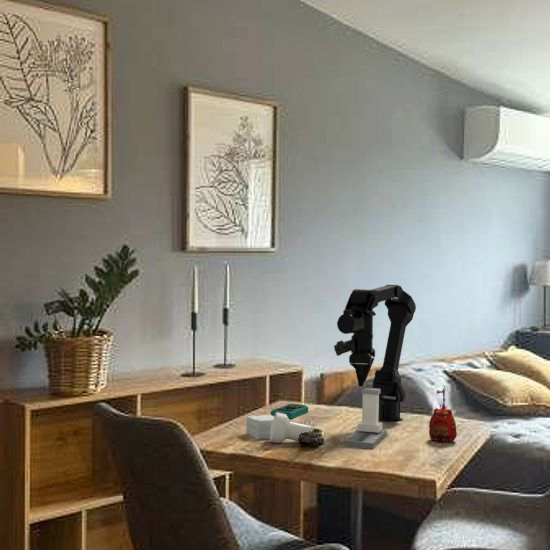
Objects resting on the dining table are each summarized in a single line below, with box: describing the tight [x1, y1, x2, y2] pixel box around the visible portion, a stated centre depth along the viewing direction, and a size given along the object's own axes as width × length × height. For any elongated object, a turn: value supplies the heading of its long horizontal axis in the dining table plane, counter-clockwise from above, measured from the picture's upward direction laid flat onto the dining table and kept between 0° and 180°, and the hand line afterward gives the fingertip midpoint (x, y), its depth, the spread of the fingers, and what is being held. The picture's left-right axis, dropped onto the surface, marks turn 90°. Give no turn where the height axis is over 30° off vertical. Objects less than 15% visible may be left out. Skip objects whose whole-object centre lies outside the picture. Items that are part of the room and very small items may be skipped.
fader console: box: [343, 428, 388, 450], centre depth 220 cm, size 18×8×2 cm, turn 161°
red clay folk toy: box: [428, 385, 458, 443], centre depth 222 cm, size 8×7×15 cm
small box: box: [245, 414, 274, 440], centre depth 225 cm, size 8×8×5 cm
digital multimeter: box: [270, 403, 309, 420], centre depth 256 cm, size 7×15×3 cm, turn 155°
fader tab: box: [357, 387, 384, 433], centre depth 225 cm, size 5×6×12 cm
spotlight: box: [269, 412, 315, 444], centre depth 216 cm, size 8×11×8 cm
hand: (362, 383), depth 237 cm, fingers open, 9 cm apart
